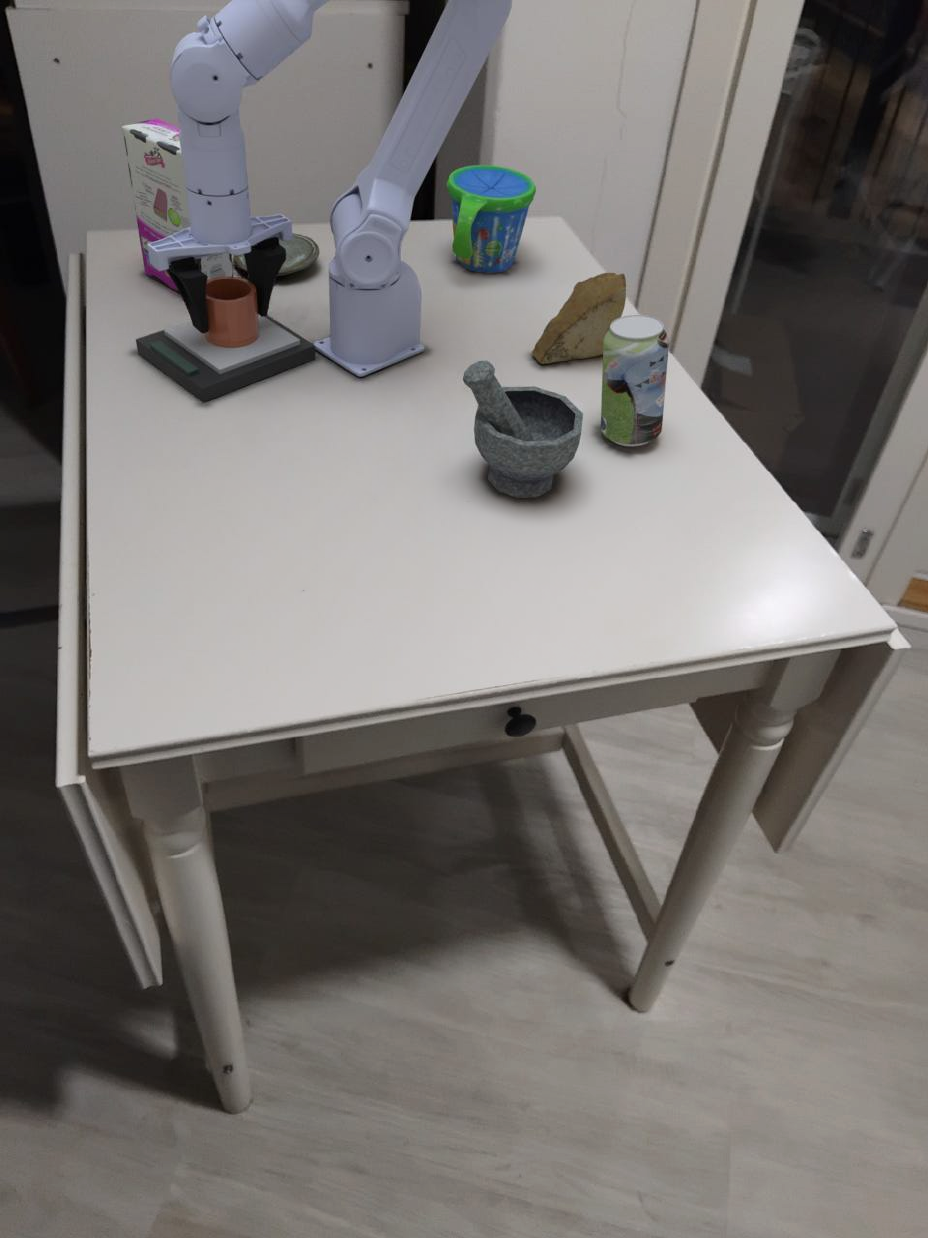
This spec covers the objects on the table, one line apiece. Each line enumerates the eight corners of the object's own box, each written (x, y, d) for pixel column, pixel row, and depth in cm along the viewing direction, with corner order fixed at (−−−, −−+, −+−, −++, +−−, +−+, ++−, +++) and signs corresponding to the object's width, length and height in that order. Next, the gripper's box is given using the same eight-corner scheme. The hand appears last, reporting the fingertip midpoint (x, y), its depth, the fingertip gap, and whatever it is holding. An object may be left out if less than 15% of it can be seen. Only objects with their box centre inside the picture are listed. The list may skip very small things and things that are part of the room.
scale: (248, 315, 106) (247, 296, 105) (315, 358, 101) (315, 339, 99) (137, 352, 99) (134, 333, 97) (203, 402, 93) (201, 382, 92)
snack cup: (489, 296, 114) (497, 211, 107) (416, 271, 118) (420, 187, 110) (548, 254, 124) (560, 174, 117) (479, 231, 128) (486, 152, 120)
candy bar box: (238, 294, 110) (224, 144, 98) (203, 308, 107) (185, 154, 95) (177, 261, 114) (158, 114, 103) (142, 273, 111) (118, 123, 100)
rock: (533, 359, 100) (629, 354, 99) (531, 274, 99) (627, 269, 98) (530, 372, 110) (616, 367, 110) (528, 296, 109) (614, 291, 109)
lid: (334, 281, 117) (339, 239, 114) (276, 286, 110) (280, 241, 107) (273, 257, 121) (277, 216, 119) (213, 260, 114) (216, 216, 111)
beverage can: (656, 459, 92) (686, 347, 84) (582, 445, 93) (604, 333, 85) (660, 425, 97) (688, 315, 88) (589, 412, 98) (610, 302, 89)
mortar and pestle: (559, 447, 93) (579, 334, 84) (583, 506, 86) (608, 391, 78) (446, 451, 91) (455, 336, 82) (462, 512, 84) (473, 394, 76)
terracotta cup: (242, 316, 102) (237, 271, 98) (269, 338, 99) (266, 293, 95) (194, 329, 99) (188, 283, 95) (221, 353, 96) (216, 306, 92)
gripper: (164, 214, 82) (184, 355, 92) (306, 185, 90) (311, 318, 99) (128, 187, 86) (151, 325, 96) (267, 160, 93) (276, 291, 103)
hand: (230, 320), depth 98 cm, fingers open, 6 cm apart
